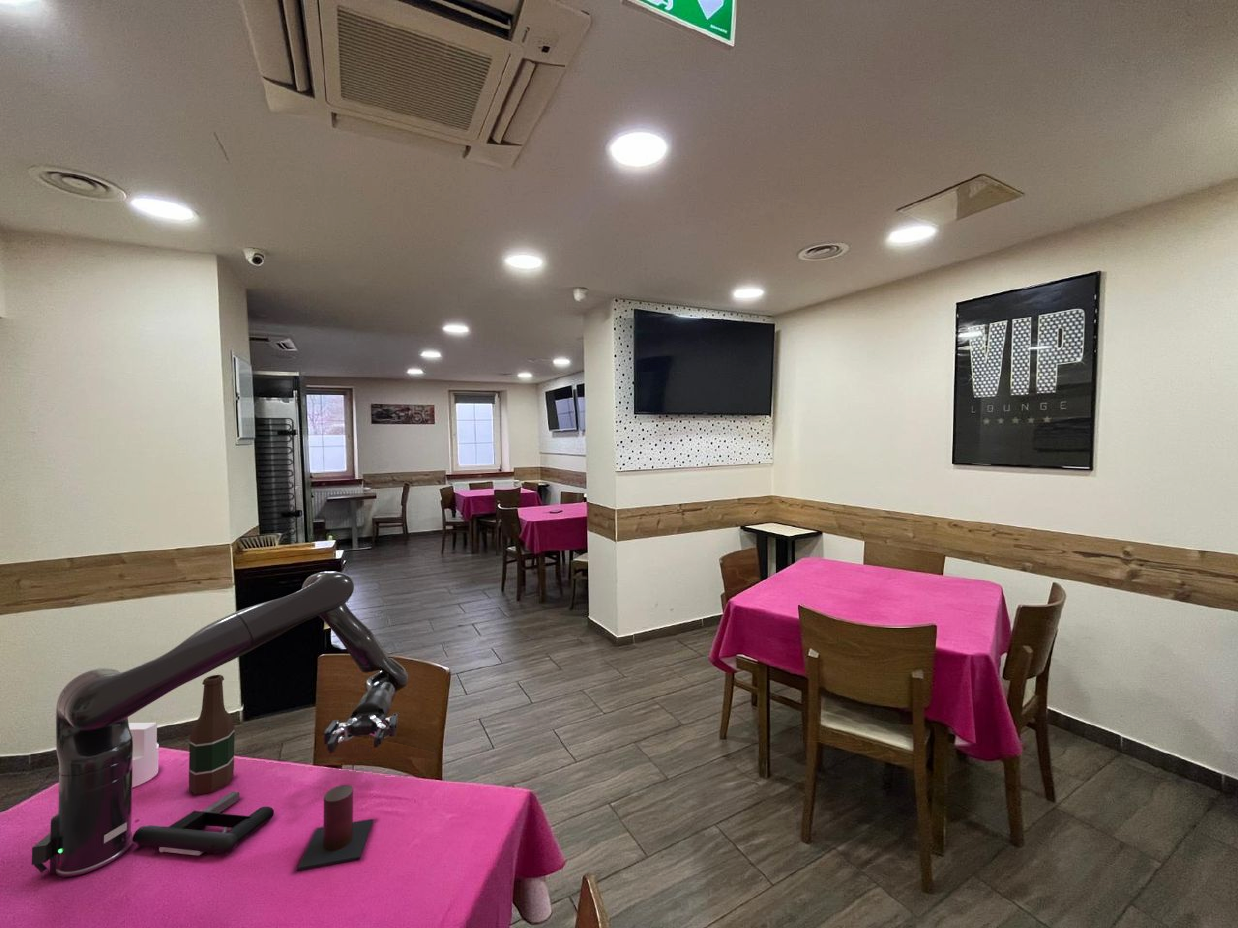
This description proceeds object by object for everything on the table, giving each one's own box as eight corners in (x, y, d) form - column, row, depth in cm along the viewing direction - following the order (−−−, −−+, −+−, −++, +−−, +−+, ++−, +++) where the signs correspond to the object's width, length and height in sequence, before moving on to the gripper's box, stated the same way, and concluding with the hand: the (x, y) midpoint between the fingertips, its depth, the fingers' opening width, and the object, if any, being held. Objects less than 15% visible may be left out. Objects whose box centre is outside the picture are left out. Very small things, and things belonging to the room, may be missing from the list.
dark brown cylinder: (319, 853, 89) (320, 803, 89) (328, 834, 93) (328, 786, 93) (348, 847, 90) (349, 798, 90) (355, 829, 94) (356, 782, 95)
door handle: (208, 785, 105) (124, 835, 89) (292, 792, 103) (221, 845, 87) (207, 801, 105) (123, 854, 89) (291, 809, 102) (220, 865, 86)
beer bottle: (233, 769, 115) (234, 667, 115) (234, 785, 109) (235, 677, 109) (189, 782, 110) (191, 676, 110) (187, 800, 104) (189, 687, 104)
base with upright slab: (169, 766, 116) (169, 716, 116) (131, 791, 107) (132, 736, 107) (130, 767, 116) (131, 716, 116) (90, 791, 107) (91, 736, 107)
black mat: (297, 870, 85) (297, 867, 85) (317, 830, 95) (317, 827, 95) (359, 859, 88) (359, 856, 88) (373, 821, 97) (372, 818, 97)
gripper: (340, 697, 116) (316, 732, 100) (404, 691, 120) (390, 723, 104) (339, 729, 116) (315, 768, 100) (403, 721, 119) (390, 758, 104)
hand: (353, 745), depth 102 cm, fingers open, 8 cm apart
